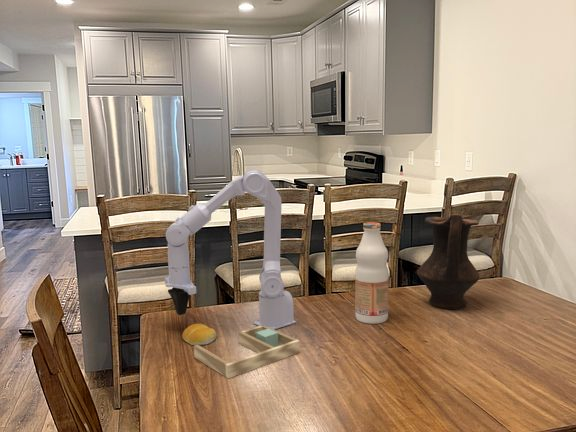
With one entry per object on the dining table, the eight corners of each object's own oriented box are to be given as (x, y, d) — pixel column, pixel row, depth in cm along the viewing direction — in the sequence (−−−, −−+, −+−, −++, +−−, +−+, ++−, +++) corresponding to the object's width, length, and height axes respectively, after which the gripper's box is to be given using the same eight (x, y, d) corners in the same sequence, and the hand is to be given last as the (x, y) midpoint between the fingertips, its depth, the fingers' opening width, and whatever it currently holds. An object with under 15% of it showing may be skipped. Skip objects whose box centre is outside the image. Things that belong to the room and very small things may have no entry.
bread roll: (196, 349, 133) (195, 334, 132) (178, 339, 139) (177, 325, 139) (223, 340, 138) (222, 326, 137) (204, 331, 145) (204, 317, 144)
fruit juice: (354, 323, 148) (354, 226, 143) (356, 312, 157) (356, 220, 153) (388, 325, 146) (388, 226, 142) (388, 314, 155) (388, 220, 151)
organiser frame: (263, 335, 140) (263, 324, 140) (299, 352, 129) (299, 340, 128) (194, 357, 127) (193, 345, 127) (228, 378, 116) (227, 365, 115)
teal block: (268, 343, 135) (268, 328, 135) (278, 347, 132) (277, 332, 131) (256, 347, 133) (255, 332, 132) (265, 352, 130) (265, 337, 129)
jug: (413, 294, 173) (415, 205, 169) (471, 295, 171) (474, 204, 166) (420, 316, 153) (422, 214, 148) (486, 317, 150) (490, 214, 145)
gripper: (153, 264, 146) (156, 310, 148) (178, 273, 135) (180, 324, 137) (176, 259, 151) (178, 305, 153) (202, 269, 140) (204, 317, 142)
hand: (181, 313), depth 145 cm, fingers closed
